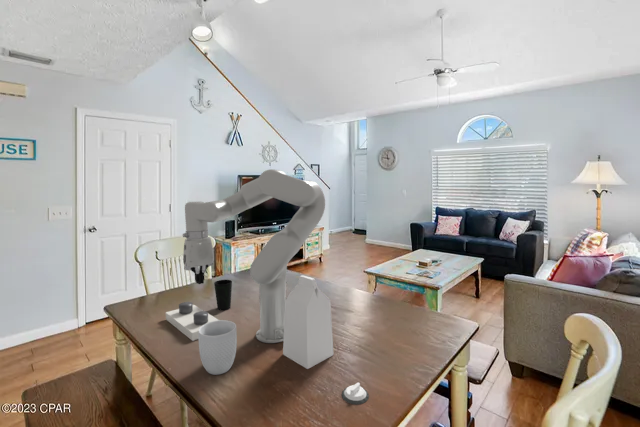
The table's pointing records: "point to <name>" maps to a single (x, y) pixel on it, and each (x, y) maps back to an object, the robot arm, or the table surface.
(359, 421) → the table surface
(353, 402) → the stove knob
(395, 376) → the table surface
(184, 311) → the knob far
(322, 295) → the milk
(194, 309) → the mount
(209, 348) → the mug
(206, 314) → the knob near
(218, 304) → the cup
